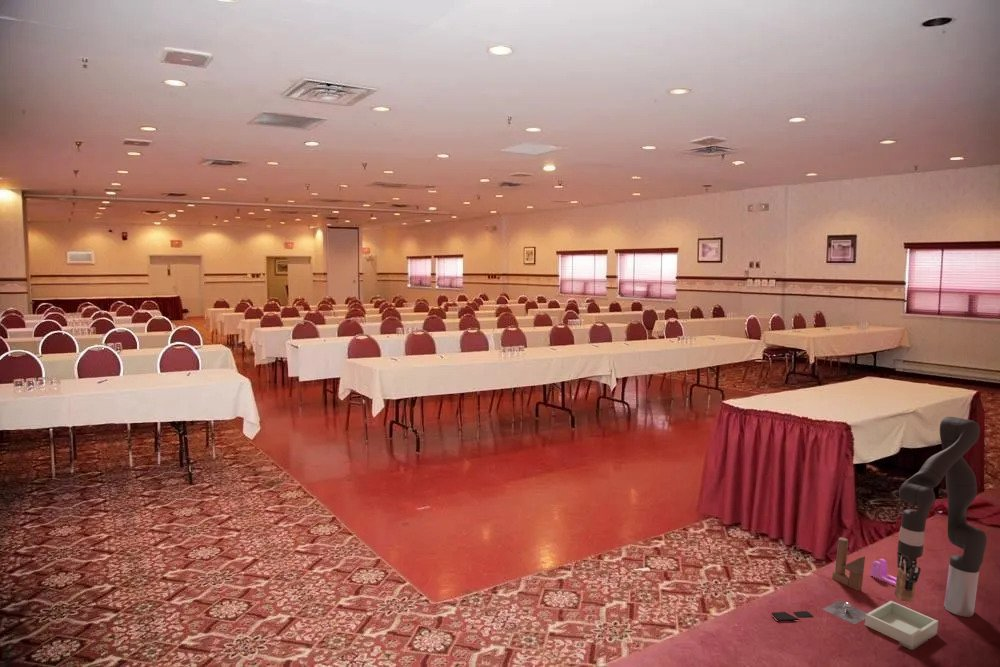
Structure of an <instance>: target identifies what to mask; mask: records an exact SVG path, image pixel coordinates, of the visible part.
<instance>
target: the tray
mask: <svg viewBox="0 0 1000 667" xmlns="http://www.w3.org/2000/svg"><path fill="white" fill-rule="evenodd" d="M866 613H867V614H866V617H865V619H864V626H866V627H867V628H870V629H872V630H875V631H877V632H879V633H881V634H882V635H885V636H887V637H890V638H891V639H894V640H896V641H897V642H898V643H897V644H898V645H901V646H902V647H904V648H907V649H909V650H911V651H914V650H915V649H916V648H918V647H920V646H921V645H922V644H924V643H926V642H928V641H929V640H930V639H932V638H933V637H935V636H937V634H938V627H939V620H938V619H935V618H932V617H931V616H928V615H926V614H923V613H921V612H918V611H916V610H914V609H911V608H909V607H907V606H905V605H903V604H900V603H898V602H895V601H893V600H889V601H888V602H886V603H883V604H882V605H881V606H878V607H876V608H875V609H872V610H871V611H869V612H866ZM928 639H929V640H928Z"/></svg>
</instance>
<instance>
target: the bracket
mask: <svg viewBox="0 0 1000 667" xmlns="http://www.w3.org/2000/svg"><path fill="white" fill-rule="evenodd" d="M888 567H889V565H888V561H887V560H886V559H884V558H880V559H878V560H875V561H872V562H871V564H870V575H871V576H873V577H872V578H874V577H875V578H874V579H876V578H878V579H879V580H878V579H877V580H878V581H881V580H882V581H881V582H883V581H885V582H888V583H890V584H892V585H895V586H896V582H895V581H896V580H897V576H896V577H895V576H893V575H890V574H888ZM870 575H869V576H870ZM871 576H870V577H871ZM885 582H884V583H885ZM888 583H887V584H888ZM890 584H889V585H890ZM892 585H891V586H892ZM895 586H894V587H895Z"/></svg>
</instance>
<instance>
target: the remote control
mask: <svg viewBox="0 0 1000 667" xmlns="http://www.w3.org/2000/svg"><path fill="white" fill-rule="evenodd" d="M771 614H772V615H773V616H774V617H775V618H776V619H777V620H778V621H791V622H795V621H794V620H800V619H805V618H806V619H807V618H809V619H810V618H815V617H814V615H813V614H812V613H811V612H809V611H807V610H800V611H799V610H797V611H795V612H792V614H793V615H795V616H793V615H791V614H790V613H787V612H786V611H776V612H771Z"/></svg>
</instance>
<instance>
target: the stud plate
mask: <svg viewBox="0 0 1000 667" xmlns="http://www.w3.org/2000/svg"><path fill="white" fill-rule="evenodd" d="M822 610H823V611H825V612H827V613H830V614H832V615H833V616H836V617H837V618H839V619H842V620H843V621H845V622H848V623H850V624H851V625H857V624H859V623H860V622H862V621H865V617H866V614H867V613H868V612H866V611H865V610H862V609H859V608H858V607H855V606H853V605H852V604H851V603H850V602H847V601H846V602H845V601H842V600H838V601H836V602H834V603H832V604H830V605H828V606H826V607H824V608H822Z"/></svg>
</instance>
